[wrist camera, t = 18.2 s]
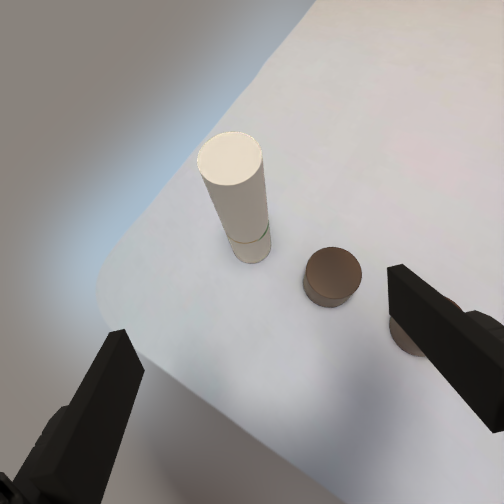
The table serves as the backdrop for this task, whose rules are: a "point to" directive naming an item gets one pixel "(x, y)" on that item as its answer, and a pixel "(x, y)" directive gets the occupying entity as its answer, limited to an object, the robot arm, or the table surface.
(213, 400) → the table surface
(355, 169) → the table surface
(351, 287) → the disc
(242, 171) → the tube
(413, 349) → the brown short cylinder
